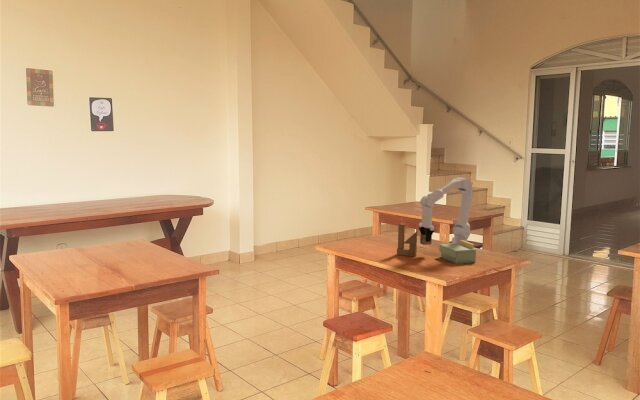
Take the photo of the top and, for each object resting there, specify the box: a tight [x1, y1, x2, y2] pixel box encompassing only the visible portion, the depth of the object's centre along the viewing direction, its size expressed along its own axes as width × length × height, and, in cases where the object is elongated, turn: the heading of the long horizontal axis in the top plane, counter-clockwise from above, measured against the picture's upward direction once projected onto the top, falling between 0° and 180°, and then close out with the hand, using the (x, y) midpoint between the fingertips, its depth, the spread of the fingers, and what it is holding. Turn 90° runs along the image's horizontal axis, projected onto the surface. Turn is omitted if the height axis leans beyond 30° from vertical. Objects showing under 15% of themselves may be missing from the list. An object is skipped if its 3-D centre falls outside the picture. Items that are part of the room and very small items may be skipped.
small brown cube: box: [419, 234, 433, 246], centre depth 302 cm, size 4×5×5 cm
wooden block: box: [396, 223, 418, 258], centre depth 303 cm, size 4×11×18 cm, turn 68°
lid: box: [438, 240, 477, 258], centre depth 294 cm, size 16×13×6 cm
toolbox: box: [440, 250, 477, 265], centre depth 295 cm, size 16×12×6 cm
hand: (426, 240), depth 302 cm, fingers closed on small brown cube, 4 cm apart
